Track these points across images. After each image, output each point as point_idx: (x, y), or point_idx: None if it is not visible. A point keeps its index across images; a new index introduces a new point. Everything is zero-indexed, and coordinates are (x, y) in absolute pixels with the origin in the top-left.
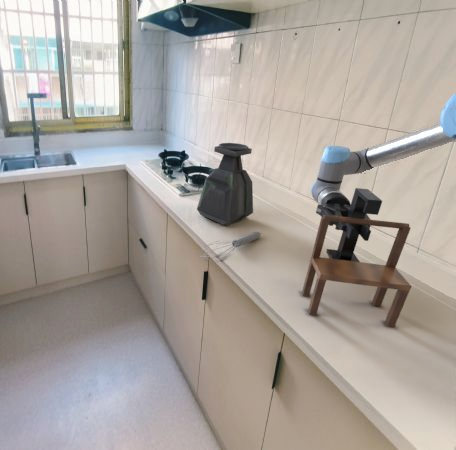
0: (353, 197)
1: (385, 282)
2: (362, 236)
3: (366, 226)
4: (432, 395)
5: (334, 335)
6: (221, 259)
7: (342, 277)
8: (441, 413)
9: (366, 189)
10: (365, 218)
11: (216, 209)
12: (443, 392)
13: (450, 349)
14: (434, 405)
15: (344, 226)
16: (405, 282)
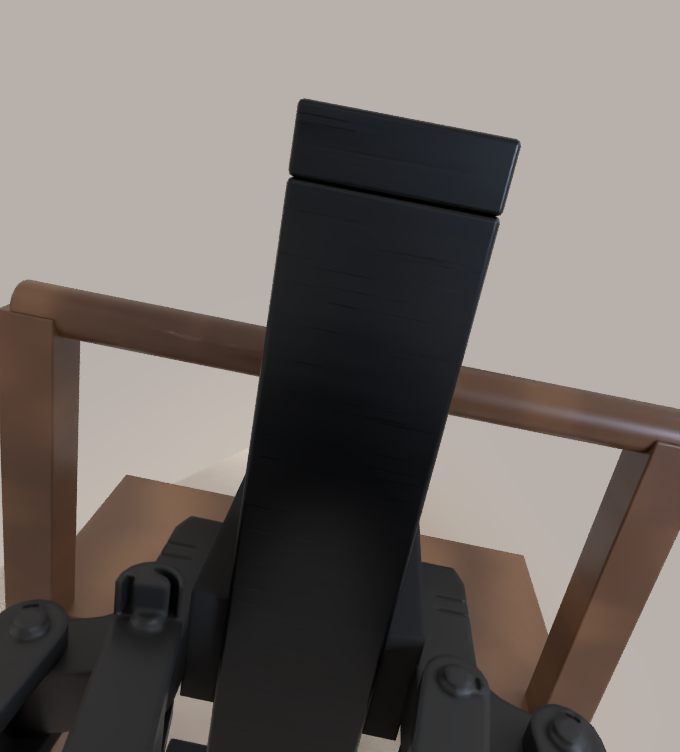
0: (471, 309)
1: (233, 498)
2: None
3: (241, 491)
4: (228, 480)
5: None
6: None
7: (423, 536)
8: (244, 459)
9: (342, 107)
10: (3, 707)
11: None
12: (195, 482)
13: (3, 566)
14: (244, 469)
15: (433, 569)
16: (128, 491)
